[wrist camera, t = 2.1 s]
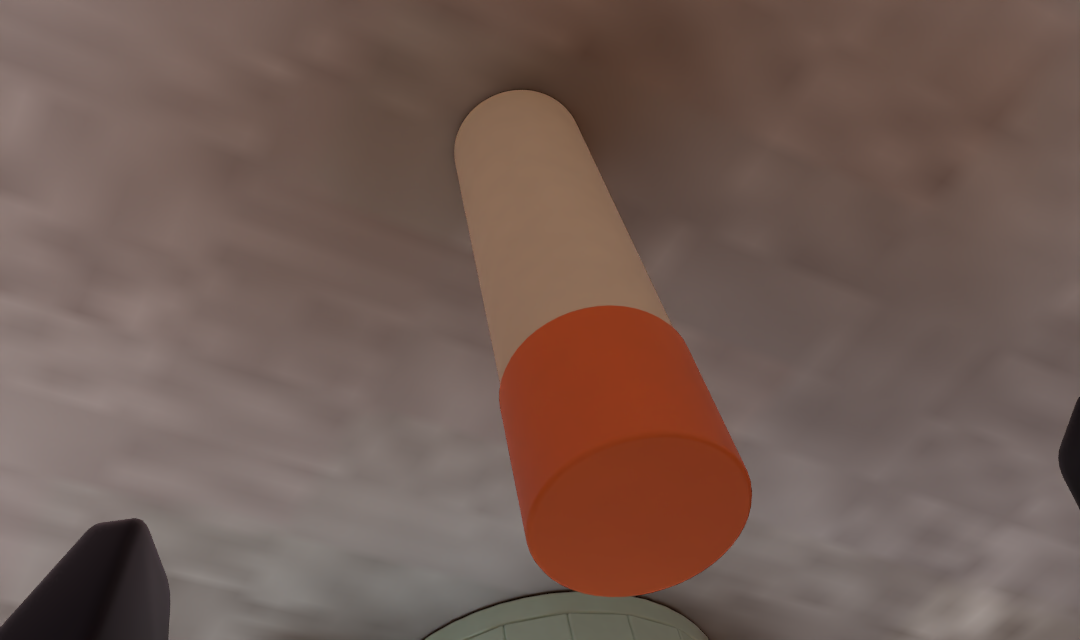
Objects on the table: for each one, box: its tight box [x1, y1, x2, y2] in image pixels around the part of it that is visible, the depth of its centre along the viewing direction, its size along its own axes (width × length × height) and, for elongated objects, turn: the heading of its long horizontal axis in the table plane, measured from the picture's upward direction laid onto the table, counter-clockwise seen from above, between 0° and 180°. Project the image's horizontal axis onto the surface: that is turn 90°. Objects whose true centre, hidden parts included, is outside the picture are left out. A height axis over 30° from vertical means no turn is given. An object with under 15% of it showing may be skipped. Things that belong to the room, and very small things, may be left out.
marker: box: [454, 90, 752, 597], centre depth 12 cm, size 2×2×8 cm
